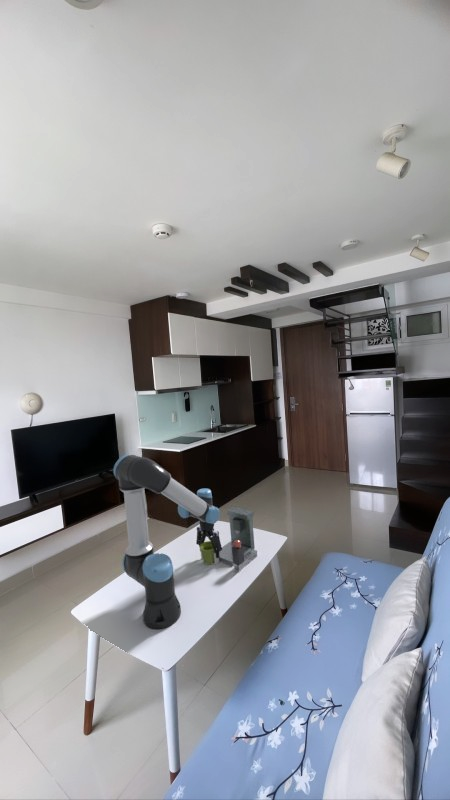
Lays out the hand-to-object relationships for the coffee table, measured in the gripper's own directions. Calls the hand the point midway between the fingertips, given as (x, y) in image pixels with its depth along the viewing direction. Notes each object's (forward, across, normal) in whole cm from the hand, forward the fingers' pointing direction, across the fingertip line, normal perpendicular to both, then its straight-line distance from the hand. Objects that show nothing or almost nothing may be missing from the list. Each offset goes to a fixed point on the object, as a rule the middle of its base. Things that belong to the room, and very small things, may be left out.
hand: (210, 560), depth 168 cm
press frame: (0, -9, -12) cm, 15 cm away
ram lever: (-3, -17, -3) cm, 17 cm away
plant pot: (0, 0, 0) cm, 1 cm away
